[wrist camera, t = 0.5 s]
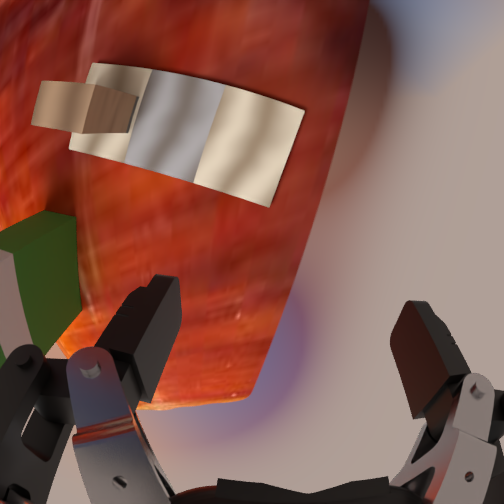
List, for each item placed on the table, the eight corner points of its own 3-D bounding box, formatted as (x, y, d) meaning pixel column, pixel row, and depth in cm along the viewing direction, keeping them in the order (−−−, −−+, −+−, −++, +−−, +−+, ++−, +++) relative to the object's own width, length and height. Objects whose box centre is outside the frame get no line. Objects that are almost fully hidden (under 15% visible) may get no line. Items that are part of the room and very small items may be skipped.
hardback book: (82, 310, 44) (10, 402, 22) (52, 299, 44) (-22, 380, 21) (76, 217, 37) (-39, 289, 15) (44, 210, 37) (-65, 270, 15)
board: (73, 148, 33) (68, 149, 32) (96, 64, 29) (92, 62, 28) (268, 205, 37) (269, 207, 35) (303, 111, 32) (305, 110, 31)
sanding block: (82, 123, 31) (30, 124, 21) (91, 89, 29) (41, 80, 19) (128, 133, 32) (81, 134, 22) (139, 96, 30) (95, 84, 20)
